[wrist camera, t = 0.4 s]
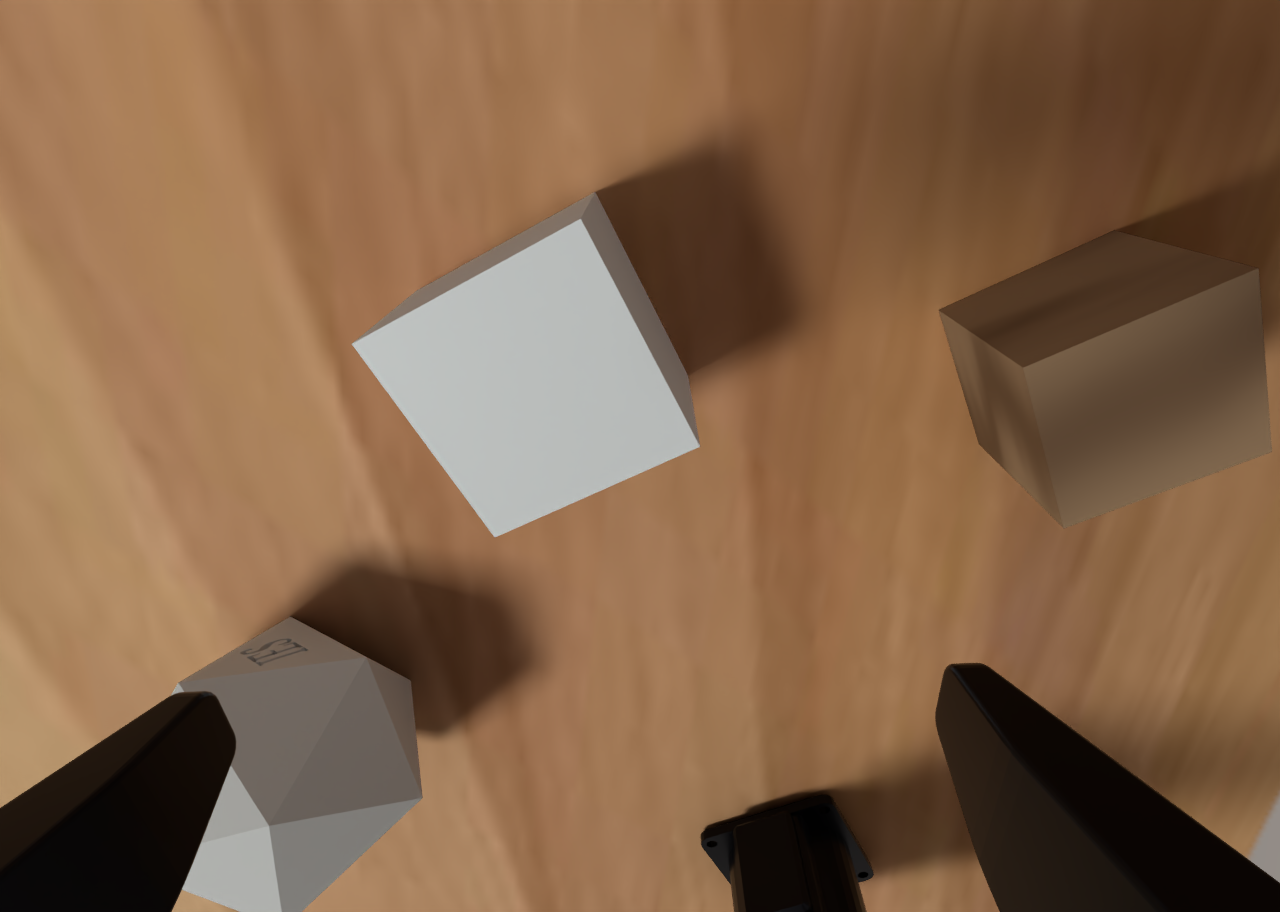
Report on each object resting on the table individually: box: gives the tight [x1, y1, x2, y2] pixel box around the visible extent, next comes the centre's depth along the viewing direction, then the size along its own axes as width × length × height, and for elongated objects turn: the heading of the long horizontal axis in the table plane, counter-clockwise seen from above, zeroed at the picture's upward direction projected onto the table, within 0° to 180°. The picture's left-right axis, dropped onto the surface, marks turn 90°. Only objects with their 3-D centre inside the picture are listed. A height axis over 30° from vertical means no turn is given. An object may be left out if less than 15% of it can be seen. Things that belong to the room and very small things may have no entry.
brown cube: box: [939, 230, 1272, 528], centre depth 18 cm, size 5×5×5 cm
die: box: [171, 617, 422, 912], centre depth 23 cm, size 8×9×10 cm
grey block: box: [352, 192, 700, 537], centre depth 18 cm, size 6×6×5 cm
